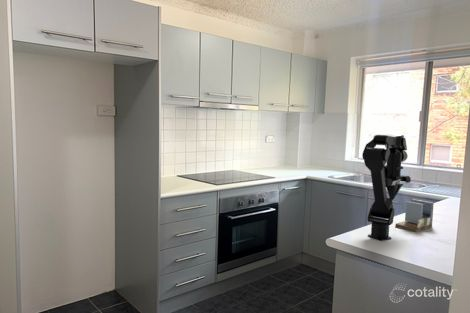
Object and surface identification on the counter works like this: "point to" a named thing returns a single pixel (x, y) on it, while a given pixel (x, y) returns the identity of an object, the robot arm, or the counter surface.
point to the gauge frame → (415, 225)
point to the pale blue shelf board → (414, 212)
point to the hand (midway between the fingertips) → (391, 199)
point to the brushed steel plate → (426, 208)
